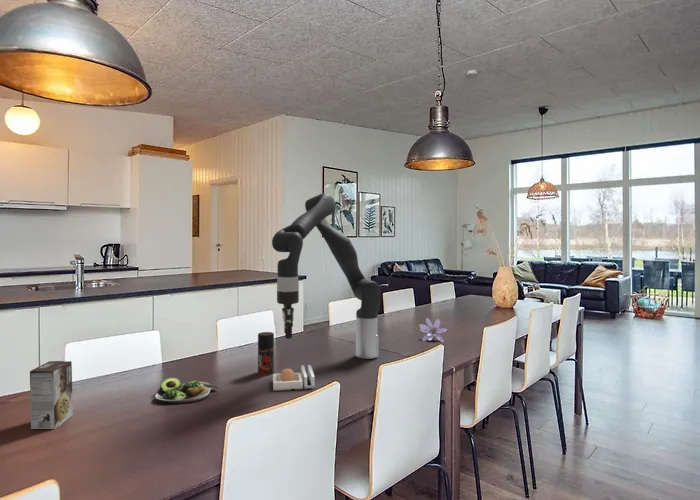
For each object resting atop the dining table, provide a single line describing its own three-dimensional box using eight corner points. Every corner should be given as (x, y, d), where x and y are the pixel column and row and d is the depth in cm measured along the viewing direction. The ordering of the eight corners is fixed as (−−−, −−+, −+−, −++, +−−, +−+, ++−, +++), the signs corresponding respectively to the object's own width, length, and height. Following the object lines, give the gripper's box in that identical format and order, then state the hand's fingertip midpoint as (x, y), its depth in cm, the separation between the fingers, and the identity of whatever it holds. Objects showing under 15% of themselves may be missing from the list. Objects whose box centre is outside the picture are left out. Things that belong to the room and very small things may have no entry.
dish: (300, 379, 158) (300, 372, 158) (302, 389, 148) (303, 381, 148) (272, 381, 156) (272, 373, 156) (273, 390, 146) (273, 383, 146)
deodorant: (276, 371, 167) (276, 332, 167) (268, 376, 162) (268, 336, 161) (263, 369, 169) (263, 331, 169) (255, 374, 163) (255, 334, 163)
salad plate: (220, 383, 154) (220, 370, 154) (216, 402, 137) (216, 387, 137) (162, 387, 150) (162, 374, 150) (150, 407, 132) (150, 392, 132)
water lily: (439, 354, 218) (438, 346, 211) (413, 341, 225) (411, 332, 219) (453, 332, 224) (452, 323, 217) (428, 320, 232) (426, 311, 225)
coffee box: (50, 416, 124) (49, 360, 124) (73, 415, 125) (72, 360, 124) (29, 430, 115) (28, 370, 115) (54, 429, 116) (54, 370, 115)
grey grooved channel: (310, 375, 162) (310, 364, 162) (314, 388, 149) (314, 376, 149) (301, 375, 162) (301, 365, 162) (304, 388, 148) (304, 377, 148)
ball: (294, 380, 155) (294, 366, 155) (295, 384, 150) (295, 370, 150) (280, 380, 154) (280, 367, 154) (280, 385, 149) (280, 371, 149)
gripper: (300, 291, 144) (300, 340, 145) (297, 286, 158) (297, 330, 159) (277, 292, 143) (277, 341, 144) (276, 287, 157) (276, 331, 158)
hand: (288, 335), depth 151 cm, fingers open, 8 cm apart
